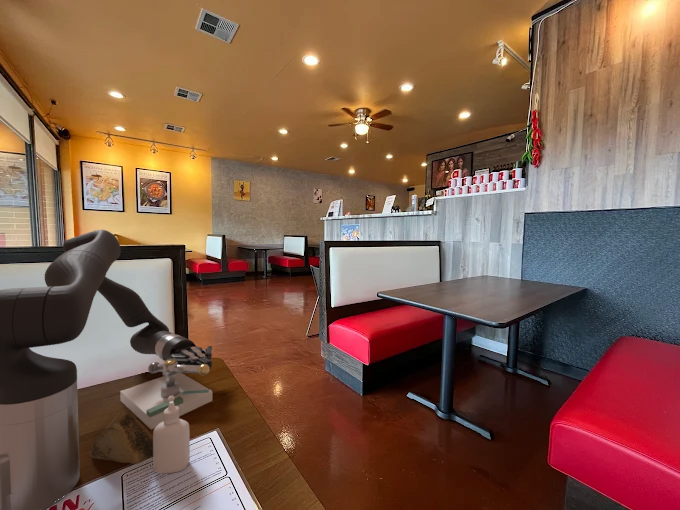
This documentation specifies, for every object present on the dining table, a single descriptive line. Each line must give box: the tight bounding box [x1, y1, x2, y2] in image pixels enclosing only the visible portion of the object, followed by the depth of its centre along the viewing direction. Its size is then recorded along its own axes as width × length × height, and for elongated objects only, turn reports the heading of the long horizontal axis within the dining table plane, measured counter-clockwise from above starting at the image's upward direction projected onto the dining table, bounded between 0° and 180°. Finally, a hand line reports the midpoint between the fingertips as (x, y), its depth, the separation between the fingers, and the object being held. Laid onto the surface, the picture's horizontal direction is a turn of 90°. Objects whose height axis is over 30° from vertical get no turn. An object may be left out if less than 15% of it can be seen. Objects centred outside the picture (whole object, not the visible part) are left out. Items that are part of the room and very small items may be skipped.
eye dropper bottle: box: [152, 401, 191, 474], centre depth 51 cm, size 4×6×12 cm
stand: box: [119, 373, 213, 430], centre depth 72 cm, size 14×18×5 cm
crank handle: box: [147, 359, 211, 387], centre depth 71 cm, size 15×3×6 cm, turn 88°
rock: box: [90, 410, 153, 465], centre depth 55 cm, size 11×9×10 cm
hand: (208, 366), depth 73 cm, fingers closed
